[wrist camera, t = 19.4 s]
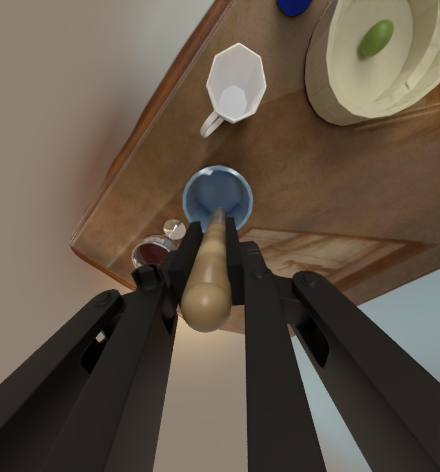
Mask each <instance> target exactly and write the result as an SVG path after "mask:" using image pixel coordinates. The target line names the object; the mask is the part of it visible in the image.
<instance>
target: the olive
mask: <svg viewBox="0 0 440 472" xmlns="http://www.w3.org/2000/svg"><path fill="white" fill-rule="evenodd" d="M393 30H394V26H393V23H392V21H390V20H382V21H379V22H378V23H376V24H375V25H374V26H372V27H371V28H370V30H369V31H368V32H367V33H366V35H365V37H364V39H363V41H362V45H361V52H362V54H363V55H364V56H367V57H370V56H374V55H376V54H377V53H379V52H380V51H381V50H382V49H383V48H384V47H385V46H386V45H387V44H388V42H389V41H390V39H391V37H392V34H393Z"/></svg>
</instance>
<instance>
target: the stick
mask: <svg viewBox="0 0 440 472" xmlns="http://www.w3.org/2000/svg"><path fill="white" fill-rule="evenodd" d="M225 218H227V213H226V210H225V209H224V208H222V207H217V208H215V209H214V210H213V212H212V214H211V217H210V220H209V223H208V225H207V228H206V231H205V234H204V237H203V239H202V242H201V245H200V248H199V251H198V253H197V256H196V259H195V262H194V265H193V267H192V270H191V273H190V276H189V279H188V281H187V284H186V287H185V290H184V292H183V295H182V299H181V312H182V316H183V318H184V320H185V321H186V323H187V324H188V325H189V326H190V327H191V328H193V329H194V330H196V331H199V332H212V331H215V330H217V329H218V328H220V327H221V326H222V325H223V324H224V323H225V322H226V320H227V319H228V317H229V315H230V312H231V306H232V299H231V284H230V281H229V277H228V270H227V258H226V233H225Z"/></svg>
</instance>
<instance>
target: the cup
mask: <svg viewBox="0 0 440 472" xmlns="http://www.w3.org/2000/svg"><path fill="white" fill-rule="evenodd" d="M206 86H207V89H208V93H209V96H210V99H211V102H212V105H213V108H214V111H213V112H212V113H211V115H210V116H209V117H208V118H207V120H206V121H205V122H204V124H203V126H202V128H201V130H200V134H201V136H202V137H203V138H206V137H208V136H209V135H210V134H211V133H212V132H213V131H214V130H215V129H216V128H217V127H218V126H219V125H220V124H221V123H222V122H223V121H224V120H226V121H228V122H230V123H232V124H233V123H236V122H238V121H240V120H242V119H244V118H246V117H248V116H251V115H253V114H255V112H256V110H257V108H258V106H259V103H260V101H261V99H262V96H263V94H264V92H265V89H266V81H265V76H264V71H263V66H262V61H261V57H260V56H259V55H257V54H256V53H254V52H253V51H251V50H250V49H248V48H246V47H245V46H243V45H242V44H240V43H237V44H235V45H233V46H231V47H230V48H228V49H226V50H224V51H222V52H221V53H219V54H217V55H215V58H214V61H213V65H212V68H211V71H210V74H209V78H208V81H207V84H206ZM218 117H219V119H218V120H217V121H216V122H215V123H214V124H213V125H211V124H212V123H213V122H214V121H215V120H216V119H217V118H218Z"/></svg>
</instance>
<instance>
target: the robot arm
mask: <svg viewBox="0 0 440 472" xmlns="http://www.w3.org/2000/svg"><path fill="white" fill-rule="evenodd" d="M225 233H226V258H227V270H228V277H229V281H230V284H231V299H232V306H235V305H245V347H246V348H245V350H246V394H247V395H246V396H247V397H246V398H247V442H248V444H247V445H248V472H327V471H326V467H325V463H324V460H323V456H322V453H321V449H320V445H319V441H318V438H317V434H316V430H315V427H314V423H313V419H312V416H311V412H310V408H309V404H308V401H307V397H306V393H305V390H304V386H303V382H302V379H301V375H300V371H299V368H298V364H297V360H296V356H295V353H294V349H293V345H292V342H291V338H290V334H289V331H288V327H287V324H290V325H291V327H292V329H293V330H294V332H295V334H296V336H297V338H298V339H299V341H300V343H301V345H302V346H303V348H304V350H305V352H306V354H307V356H308V357H309V359H310V361H311V363H312V364H313V366H314V368H315V370H316V371H317V373H318V375H319V377H320V379H321V380H322V382H323V384H324V386H325V388H326V390H327V391H328V393H329V395H330V397H331V398H332V400H333V402H334V404H335V406H336V407H337V409H338V411H339V413H340V414H341V416H342V418H343V420H344V422H345V423H346V425H347V427H348V429H349V431H350V432H351V434H352V436H353V438H354V440H355V441H356V443H357V445H358V447H359V449H360V450H361V452H362V454H363V456H364V457H365V459H366V461H367V463H368V465H369V467H370V468H371V470H372V472H440V383H439V382H438V381H437V380H436V379H435V378H434V377H433V376H432V375H431V374H429V373H428V372H427V371H426V370H425V369H424V368H423V367H422V366H421V365H420V364H419V363H417V362H416V361H415V360H414V359H413V358H412V357H411V356H410V355H409V354H408V353H407V352H405V351H404V350H403V349H402V348H401V347H400V346H399V345H398V344H397V343H396V342H395V341H393V340H392V339H391V338H390V337H389V336H388V335H387V334H386V333H385V332H384V331H383V330H382V329H380V328H379V327H378V326H377V325H376V324H375V323H374V322H373V321H372V320H370V318H368V317H367V316H366V315H365V314H364V313H363V312H362V311H361V310H360V309H359V308H358V307H356V306H355V305H354V304H353V303H352V302H351V301H350V300H349V299H348V298H347V297H346V296H344V295H343V294H342V293H341V292H340V291H339V290H338V289H337V288H336V287H335V286H334V285H332V284H331V283H330V282H329V281H328V280H327V279H326V278H325V277H323V276H322V275H320V274H318V273H315V272H311V271H300V272H297V273H295V274H294V275H293V278H286V277H280V276H277V275H274V274H273V273H272V271H271V270H270V269H268V268H267V267H266V264H265V262H264V259H263V257H262V254H261V252H260V250H259V247H258V245H257V244H256V243H255V242H253V241H249V242H240V243H239V240H238V235H237V230H236V225H235V220H234V217H227V218H225ZM202 239H203V232H202V227H201V222H200V221H194V222H191V224H190V226H189V228H188V230H187V232H186V234H185V236H184V238H183V240H182V242H181V244H180V246H179V248H178V250H171V251H170V252H169V253H167V254H166V255H165V257H164V258H163V261H162V262H161V263H160V265H159V264H158V263H147V264H144V265H142V266H140V267H138V268H136V269H135V270H134V271H133V272H132V273H131V275H132V277H133V279H134V281H135V283H136V285H137V289H136V291H134V292H131V293H127V294H124V295H120V293H119V291H118V290H115V289H112V290H107V291H104V292H102V293H100V294H98V295H97V296H95V297H94V298H93V299H92V300H90V302H88V303H87V304H86V305H85V306H84V307H83V308H82V309H81V310H80V311H78V312H77V313H76V314H75V315H74V316H73V317H72V318H71V319H70V320H69V321H68V322H67V323H66V324H65V325H63V326H62V327H61V328H60V329H59V330H58V331H57V332H56V333H55V334H54V335H53V336H52V337H51V338H49V339H48V340H47V341H46V342H45V343H44V344H43V345H42V346H41V347H40V348H39V349H38V350H36V351H35V352H34V353H33V354H32V355H31V356H30V357H29V358H28V359H27V360H26V361H25V362H24V363H23V364H21V366H20V367H18V368H17V369H16V370H15V371H14V372H13V373H12V374H11V375H10V376H9V377H7V378H6V379H5V380H4V381H3V382H2V383H1V384H0V472H152V471H153V465H154V459H155V453H156V447H157V441H158V435H159V429H160V423H161V417H162V411H163V405H164V399H165V393H166V387H167V381H168V375H169V369H170V363H171V357H172V351H173V345H174V339H175V333H176V327H177V320H178V314H177V311H176V309H177V306H178V303H179V306H180V309H181V299H182V295H183V292H184V290H185V287H186V284H187V281H188V279H189V276H190V273H191V270H192V267H193V265H194V262H195V259H196V256H197V253H198V251H199V248H200V245H201V242H202ZM100 332H102V333H103V335H104V336H105V338H104V339H103V340H102V341H101V342H98V341H97V340H96V336H97V335H98V334H99V333H100Z"/></svg>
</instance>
